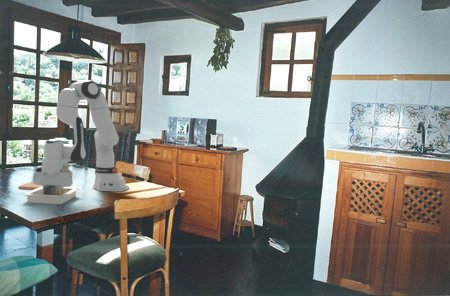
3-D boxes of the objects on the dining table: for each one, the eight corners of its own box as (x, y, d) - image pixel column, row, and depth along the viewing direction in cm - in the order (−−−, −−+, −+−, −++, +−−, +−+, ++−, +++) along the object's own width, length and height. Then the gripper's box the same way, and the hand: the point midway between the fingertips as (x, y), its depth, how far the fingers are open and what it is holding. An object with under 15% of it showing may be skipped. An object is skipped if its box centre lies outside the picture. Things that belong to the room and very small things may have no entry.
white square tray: (80, 195, 187) (80, 187, 187) (63, 205, 166) (63, 197, 166) (43, 193, 187) (43, 185, 186) (21, 203, 165) (21, 194, 165)
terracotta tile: (58, 184, 209) (58, 182, 209) (45, 190, 193) (45, 187, 193) (33, 183, 208) (33, 180, 208) (18, 188, 192) (18, 186, 192)
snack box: (53, 168, 260) (54, 137, 257) (65, 168, 264) (66, 137, 262) (56, 173, 241) (56, 140, 239) (68, 173, 246) (69, 140, 244)
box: (63, 195, 182) (63, 183, 182) (52, 200, 171) (52, 188, 170) (54, 194, 182) (54, 182, 182) (43, 200, 170) (43, 187, 170)
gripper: (74, 168, 177) (74, 193, 179) (37, 166, 176) (37, 191, 178) (69, 170, 171) (69, 195, 172) (31, 168, 170) (30, 193, 172)
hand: (52, 193), depth 175 cm, fingers closed on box, 5 cm apart
